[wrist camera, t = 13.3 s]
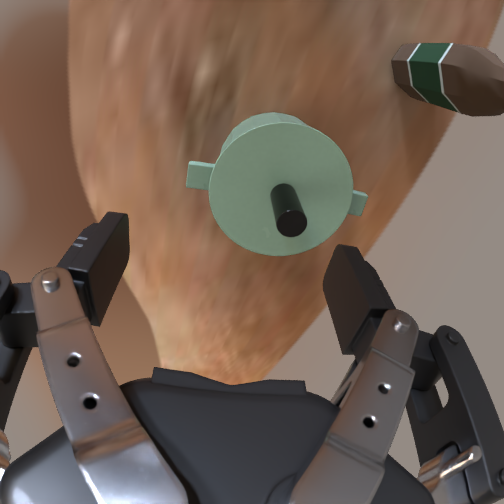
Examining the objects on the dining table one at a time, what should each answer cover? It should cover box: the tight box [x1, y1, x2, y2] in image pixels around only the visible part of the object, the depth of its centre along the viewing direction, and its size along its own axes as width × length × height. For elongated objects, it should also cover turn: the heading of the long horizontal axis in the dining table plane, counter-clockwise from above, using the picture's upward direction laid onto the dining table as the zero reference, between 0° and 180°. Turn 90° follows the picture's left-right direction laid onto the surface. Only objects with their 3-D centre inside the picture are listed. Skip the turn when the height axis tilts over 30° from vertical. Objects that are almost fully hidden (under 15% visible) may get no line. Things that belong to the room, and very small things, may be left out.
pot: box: [186, 112, 368, 216], centre depth 32 cm, size 13×18×10 cm
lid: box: [209, 122, 353, 256], centre depth 26 cm, size 14×14×7 cm
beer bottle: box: [391, 43, 504, 116], centre depth 18 cm, size 8×8×24 cm
